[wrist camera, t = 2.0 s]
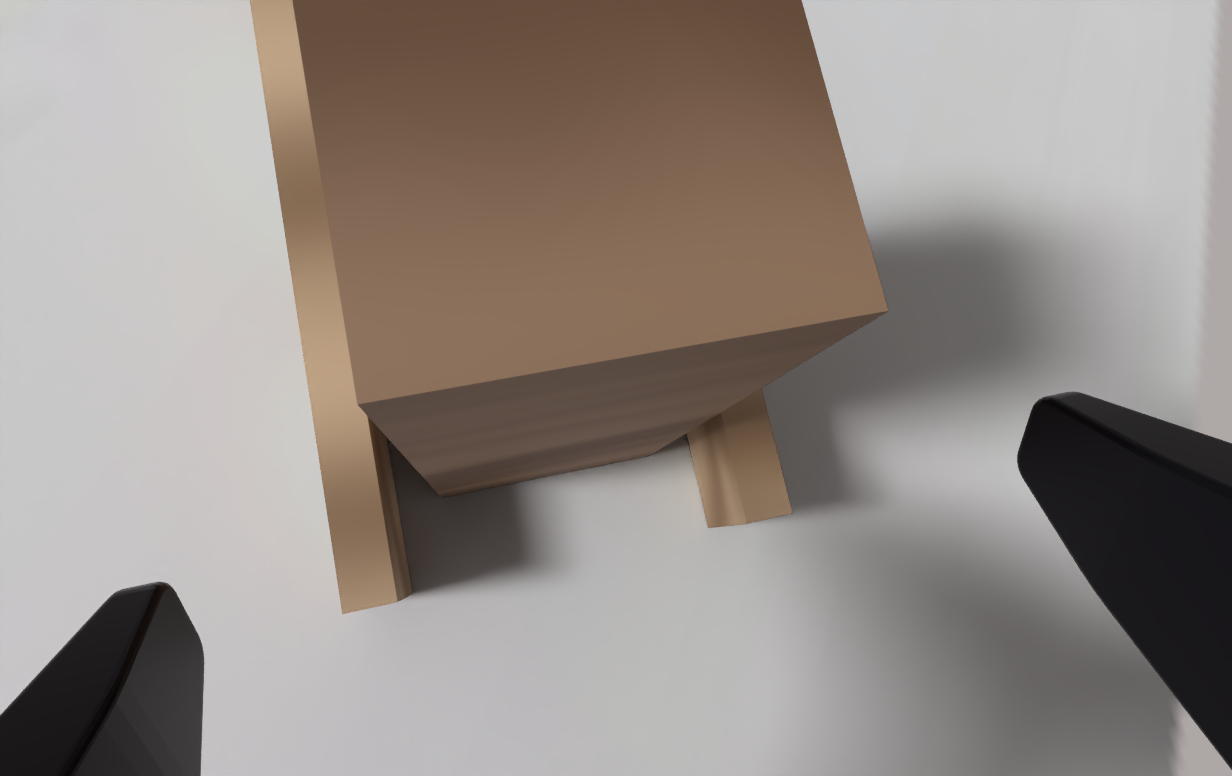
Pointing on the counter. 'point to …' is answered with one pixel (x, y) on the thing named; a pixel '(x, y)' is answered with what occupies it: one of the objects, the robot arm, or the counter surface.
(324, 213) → the wooden u-shaped frame
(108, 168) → the counter surface
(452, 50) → the tall brown box
